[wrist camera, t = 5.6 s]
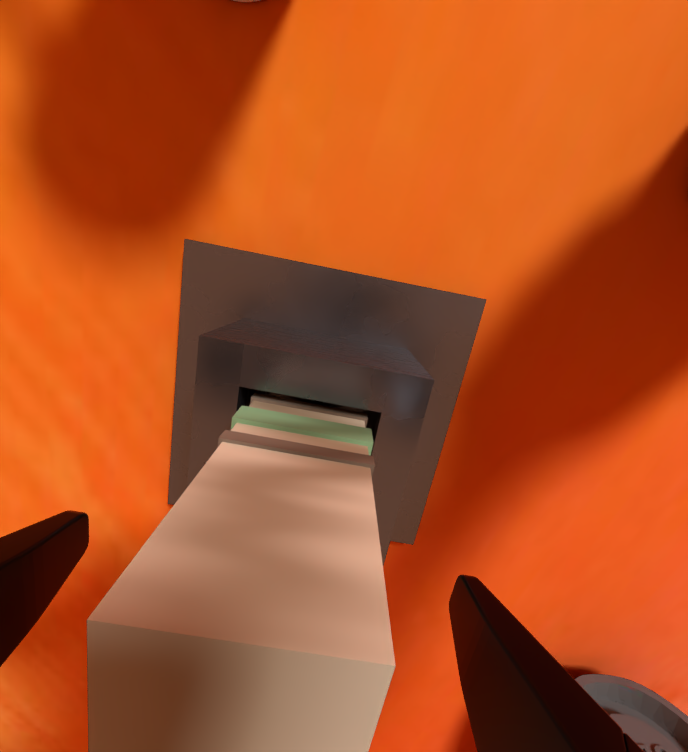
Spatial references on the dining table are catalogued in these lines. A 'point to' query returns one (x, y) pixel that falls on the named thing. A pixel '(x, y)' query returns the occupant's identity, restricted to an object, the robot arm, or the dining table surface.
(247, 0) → the mug
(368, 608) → the column
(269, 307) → the stand base
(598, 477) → the dining table surface
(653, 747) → the bluetooth speaker
